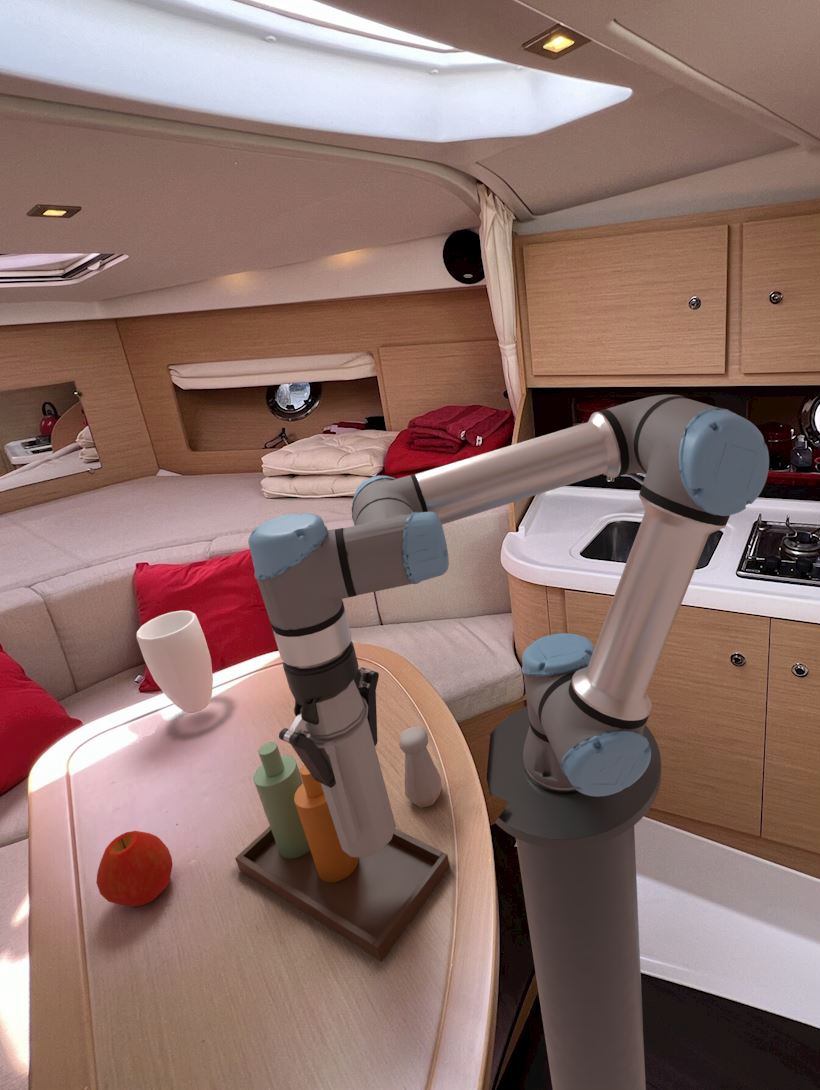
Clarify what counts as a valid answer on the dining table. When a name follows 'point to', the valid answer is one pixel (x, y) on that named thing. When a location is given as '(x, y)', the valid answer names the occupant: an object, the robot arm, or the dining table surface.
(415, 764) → the salt shaker
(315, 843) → the amber bottle
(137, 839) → the apple
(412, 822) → the dining table surface
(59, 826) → the dining table surface
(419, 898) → the tray
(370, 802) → the water bottle
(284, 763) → the sage bottle
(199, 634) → the cup
